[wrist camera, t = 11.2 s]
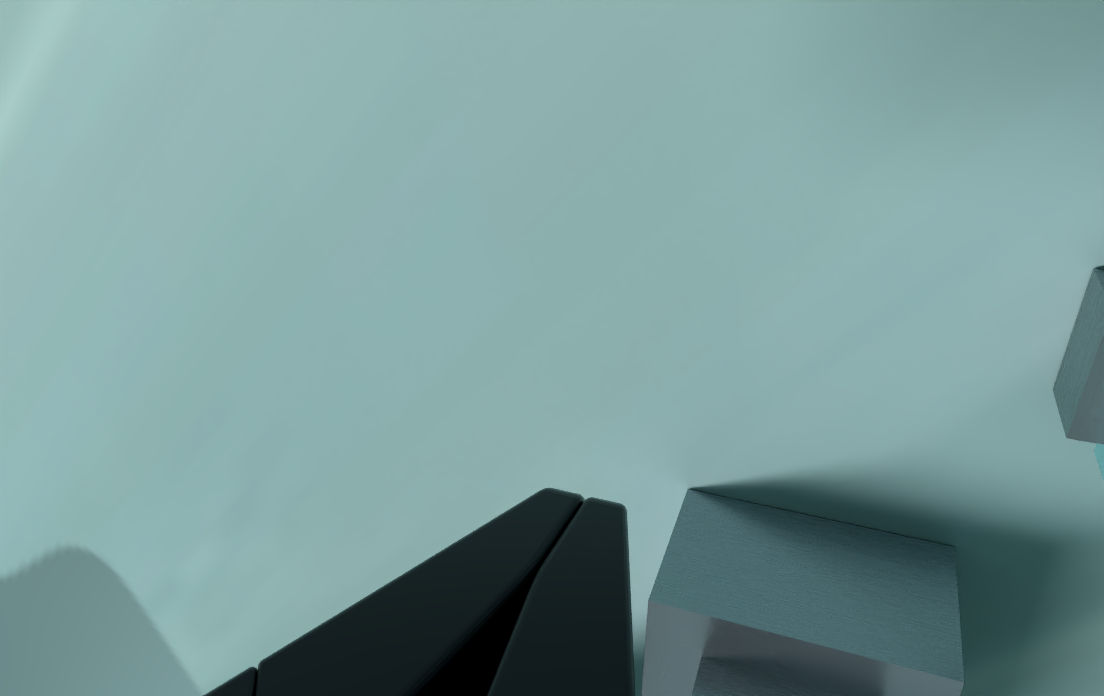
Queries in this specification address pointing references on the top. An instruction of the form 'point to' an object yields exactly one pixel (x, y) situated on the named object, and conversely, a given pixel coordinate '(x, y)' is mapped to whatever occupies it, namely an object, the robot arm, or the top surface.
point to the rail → (1084, 369)
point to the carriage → (1100, 457)
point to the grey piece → (799, 608)
